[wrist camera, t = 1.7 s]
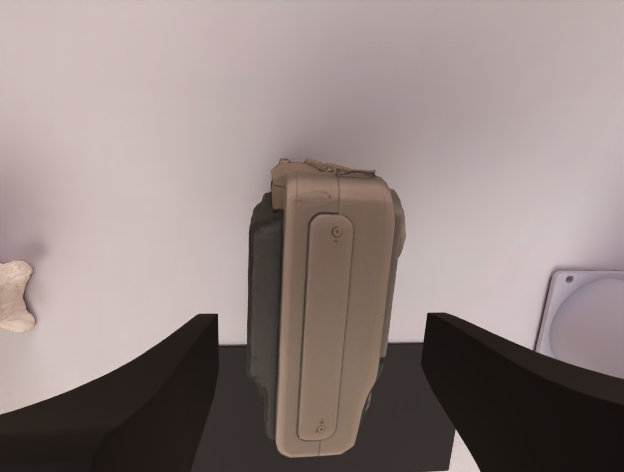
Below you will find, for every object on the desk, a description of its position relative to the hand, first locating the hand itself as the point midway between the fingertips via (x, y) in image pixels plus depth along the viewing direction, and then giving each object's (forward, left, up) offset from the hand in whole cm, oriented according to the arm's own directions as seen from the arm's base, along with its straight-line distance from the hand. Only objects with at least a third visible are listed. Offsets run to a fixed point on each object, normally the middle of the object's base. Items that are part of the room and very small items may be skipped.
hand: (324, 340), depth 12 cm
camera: (0, 0, -10) cm, 10 cm away
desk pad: (-2, +12, -10) cm, 16 cm away
